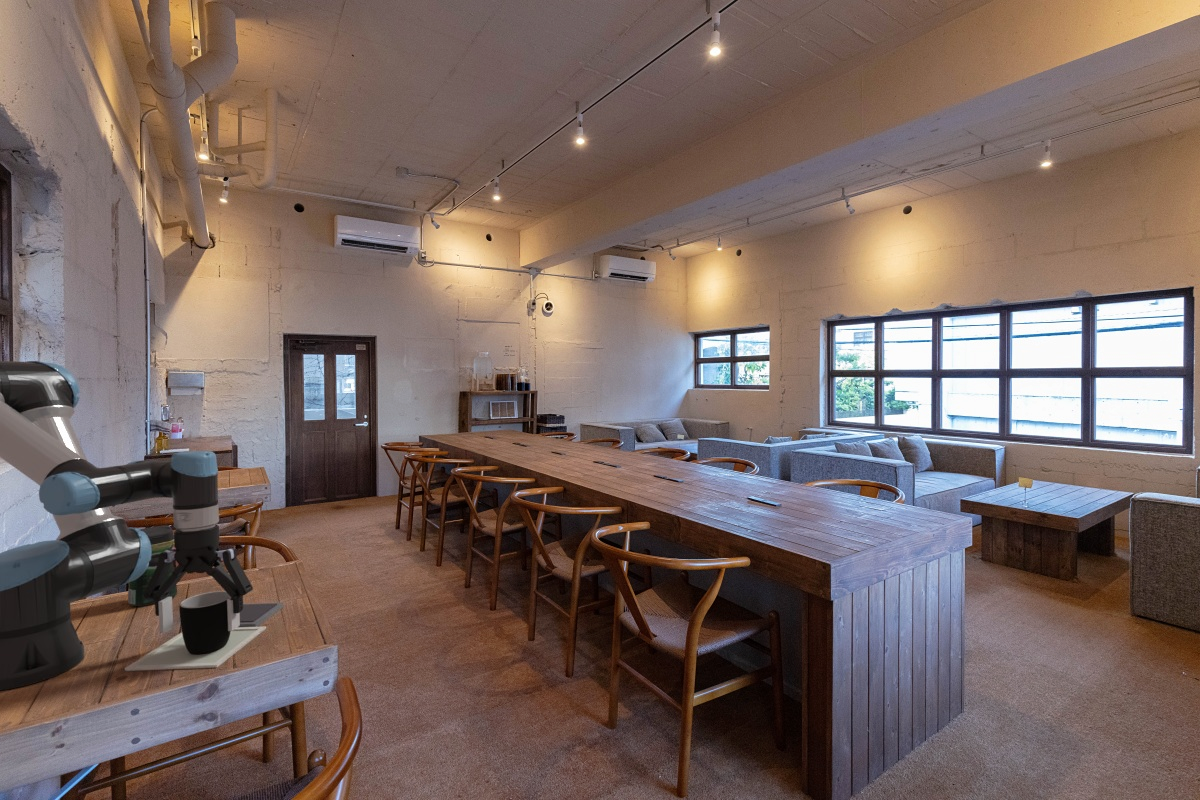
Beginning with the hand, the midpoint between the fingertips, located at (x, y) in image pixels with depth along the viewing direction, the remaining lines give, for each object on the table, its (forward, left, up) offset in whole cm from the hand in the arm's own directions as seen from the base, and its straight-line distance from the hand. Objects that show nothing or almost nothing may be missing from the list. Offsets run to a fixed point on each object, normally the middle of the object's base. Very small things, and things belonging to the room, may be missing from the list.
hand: (200, 629), depth 114 cm
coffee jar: (-30, +28, -4) cm, 41 cm away
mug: (0, 0, -4) cm, 4 cm away
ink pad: (0, +15, -4) cm, 15 cm away
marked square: (0, 0, -4) cm, 4 cm away
